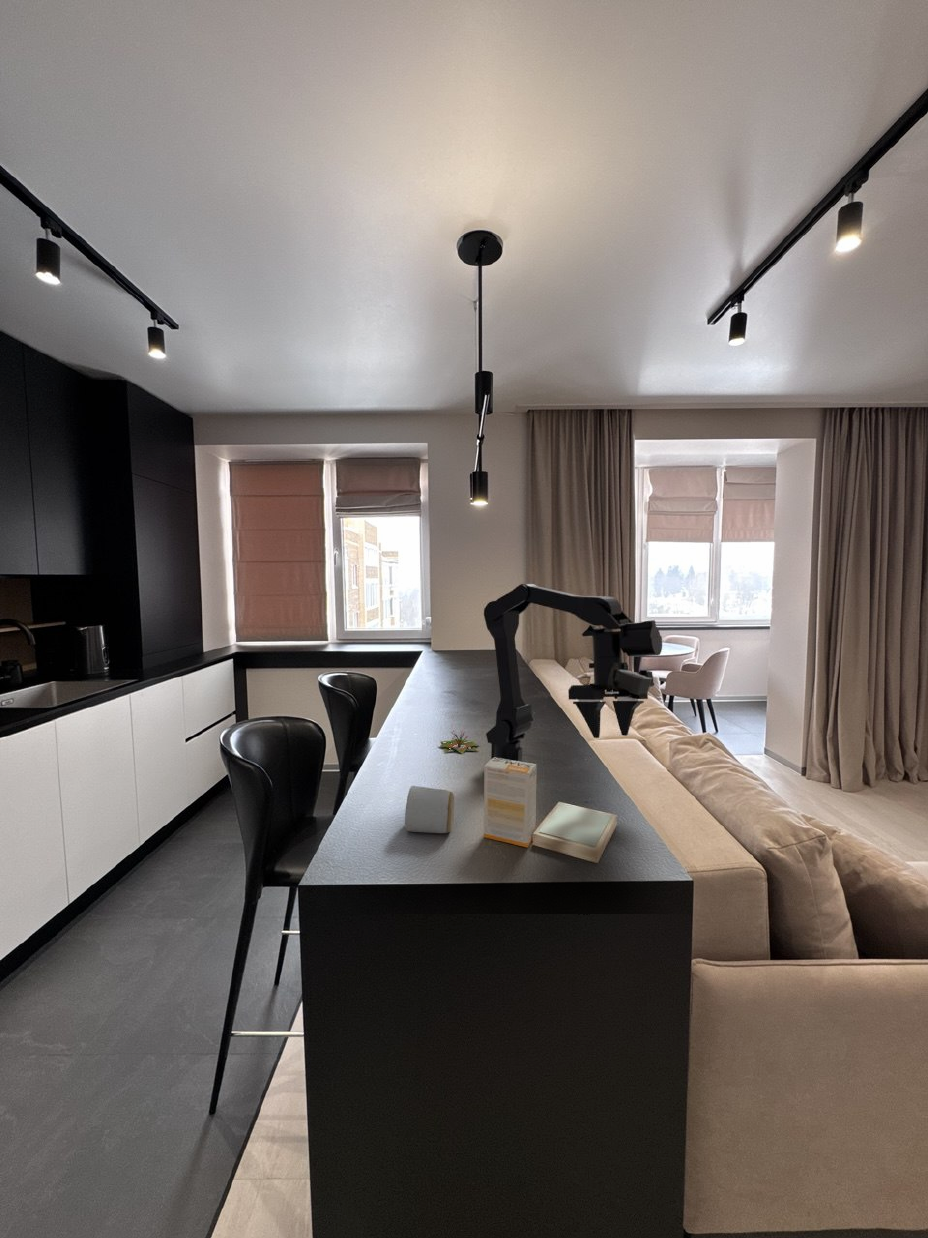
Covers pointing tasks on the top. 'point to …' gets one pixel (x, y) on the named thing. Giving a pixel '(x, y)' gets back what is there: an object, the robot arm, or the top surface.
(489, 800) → the supplement box
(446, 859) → the top surface
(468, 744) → the lily flower
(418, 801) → the ceramic mug
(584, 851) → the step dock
